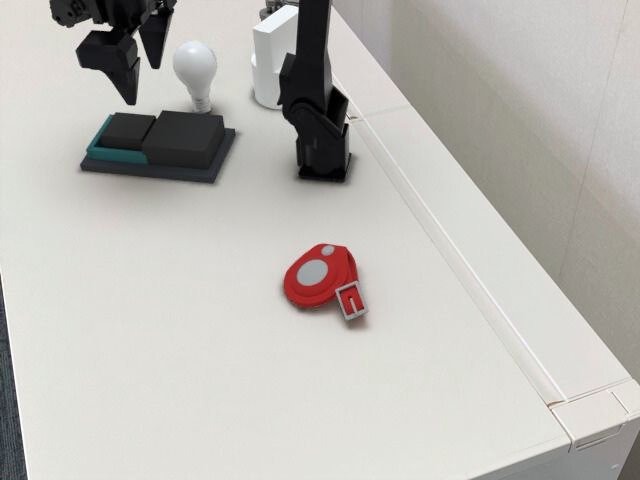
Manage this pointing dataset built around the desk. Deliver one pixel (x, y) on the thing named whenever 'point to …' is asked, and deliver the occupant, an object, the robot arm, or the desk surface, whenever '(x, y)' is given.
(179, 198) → the desk surface
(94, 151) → the black teal stepped tray
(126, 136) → the black block
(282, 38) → the base with upright slab
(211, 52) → the lightbulb
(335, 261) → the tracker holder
